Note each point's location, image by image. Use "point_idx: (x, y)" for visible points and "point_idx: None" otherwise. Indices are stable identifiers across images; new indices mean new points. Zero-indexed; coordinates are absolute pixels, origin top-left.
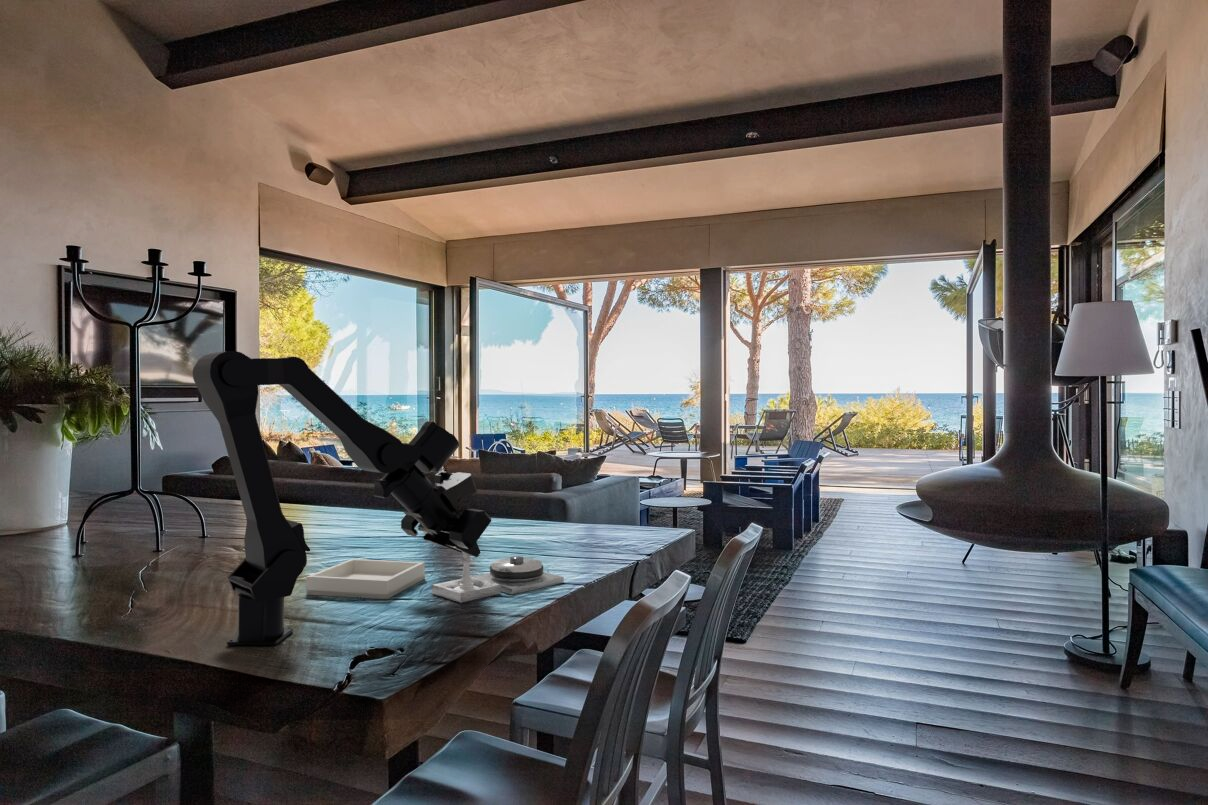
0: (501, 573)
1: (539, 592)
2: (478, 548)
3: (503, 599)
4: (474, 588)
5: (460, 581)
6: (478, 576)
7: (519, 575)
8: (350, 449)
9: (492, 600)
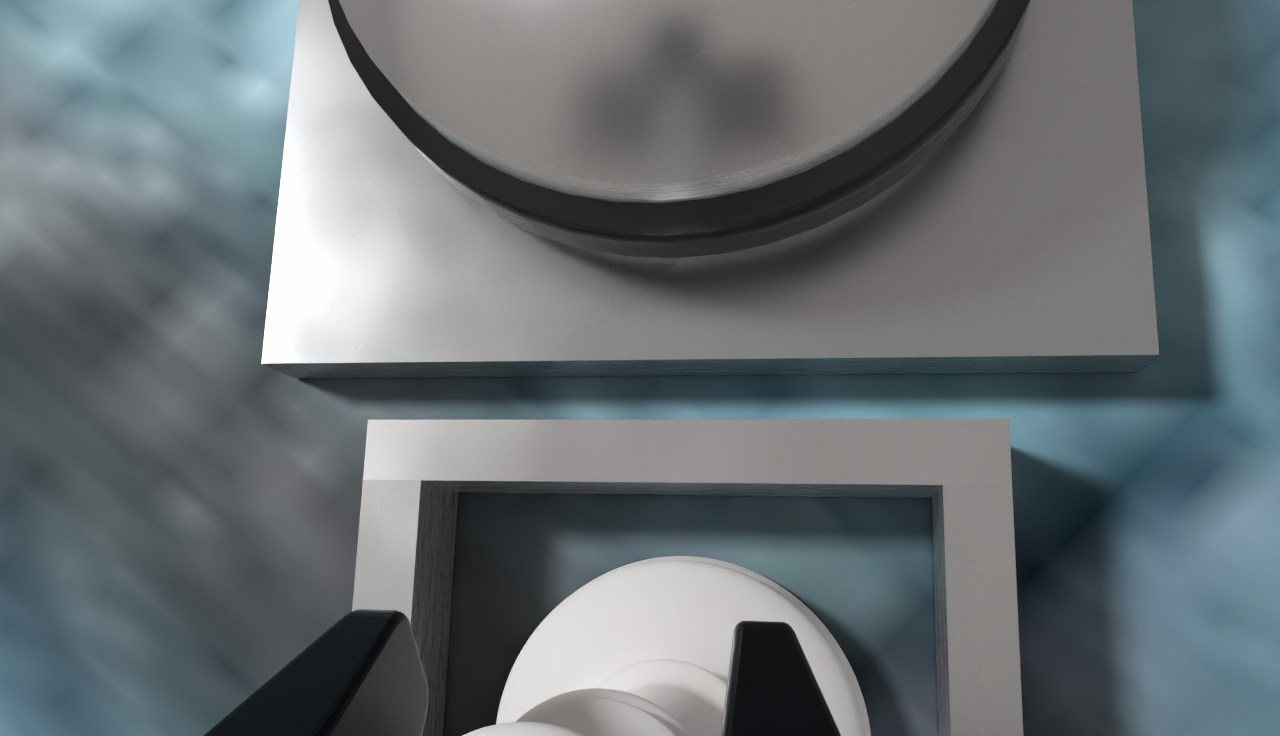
0: (778, 213)
1: (1274, 64)
2: (834, 732)
3: (1261, 592)
4: None
5: None
6: (328, 272)
7: (993, 64)
8: None
9: (1205, 728)
